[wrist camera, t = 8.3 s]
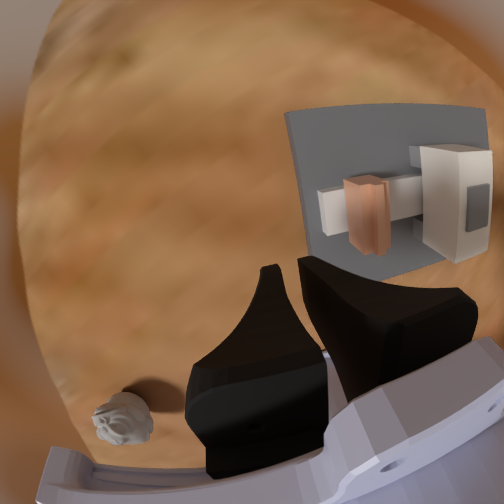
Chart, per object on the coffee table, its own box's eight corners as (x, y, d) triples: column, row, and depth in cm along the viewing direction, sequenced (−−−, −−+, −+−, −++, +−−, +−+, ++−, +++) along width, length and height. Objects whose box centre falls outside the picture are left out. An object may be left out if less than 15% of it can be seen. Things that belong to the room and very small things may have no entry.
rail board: (478, 240, 23) (496, 250, 20) (313, 291, 23) (324, 311, 20) (476, 108, 17) (498, 109, 15) (284, 113, 17) (294, 109, 14)
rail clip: (373, 235, 19) (395, 251, 16) (349, 241, 19) (368, 259, 16) (369, 174, 17) (393, 182, 14) (342, 178, 17) (364, 187, 14)
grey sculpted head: (124, 368, 25) (108, 422, 18) (169, 405, 27) (164, 456, 21) (92, 383, 25) (75, 431, 19) (134, 416, 28) (125, 462, 22)
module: (445, 227, 20) (489, 252, 15) (413, 236, 20) (457, 265, 15) (443, 142, 18) (494, 151, 12) (408, 144, 17) (461, 152, 12)
